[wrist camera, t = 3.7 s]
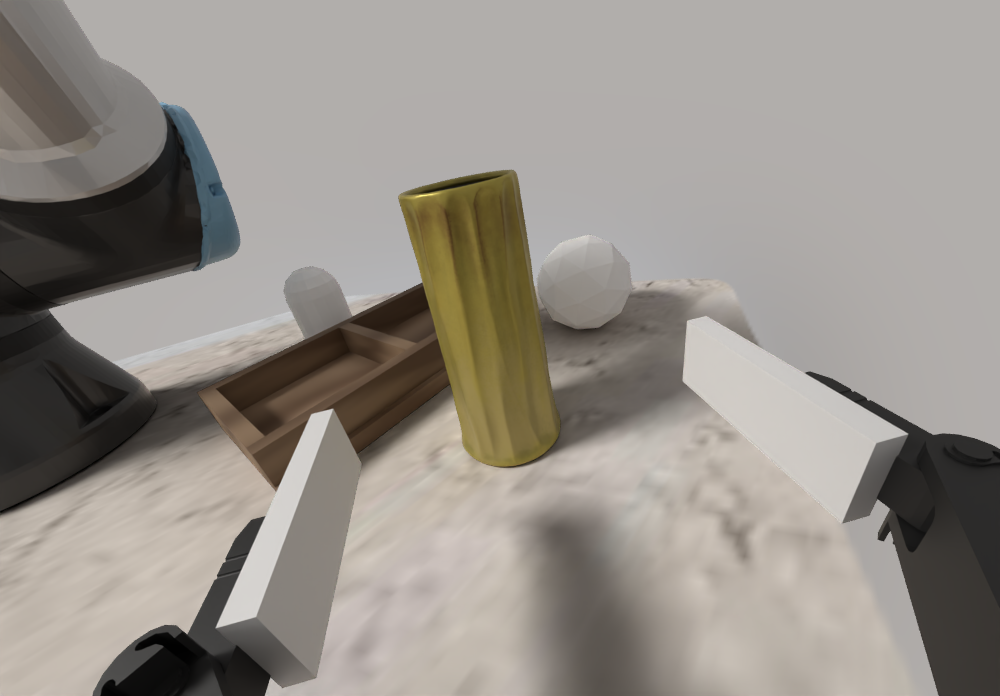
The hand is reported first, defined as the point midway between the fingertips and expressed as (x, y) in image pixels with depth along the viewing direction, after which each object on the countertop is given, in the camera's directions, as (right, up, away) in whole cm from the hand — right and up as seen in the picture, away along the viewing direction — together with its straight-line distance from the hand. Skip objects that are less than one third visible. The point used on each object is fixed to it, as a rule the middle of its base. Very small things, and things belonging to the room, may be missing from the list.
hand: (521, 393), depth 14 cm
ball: (+7, +4, +20) cm, 21 cm away
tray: (-10, 0, +18) cm, 21 cm away
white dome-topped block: (-19, +3, +27) cm, 33 cm away
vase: (0, -4, +9) cm, 10 cm away
